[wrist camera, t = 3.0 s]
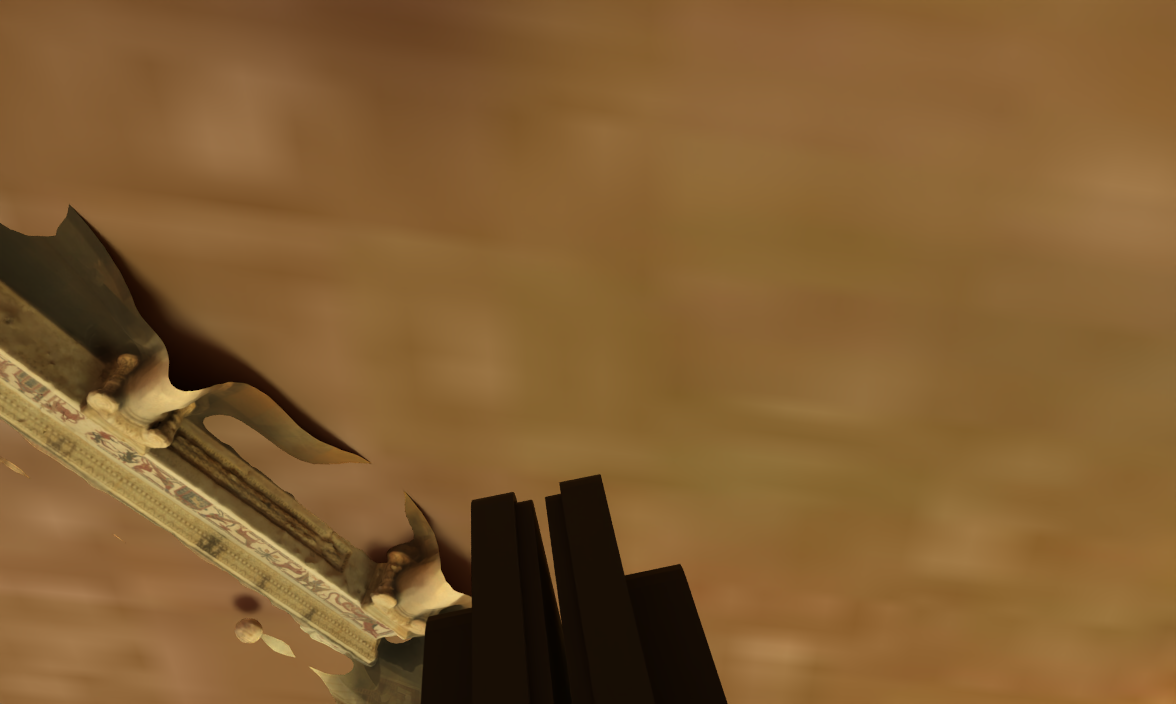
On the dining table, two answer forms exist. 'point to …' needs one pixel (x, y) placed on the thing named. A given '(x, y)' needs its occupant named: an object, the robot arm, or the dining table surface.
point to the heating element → (201, 464)
